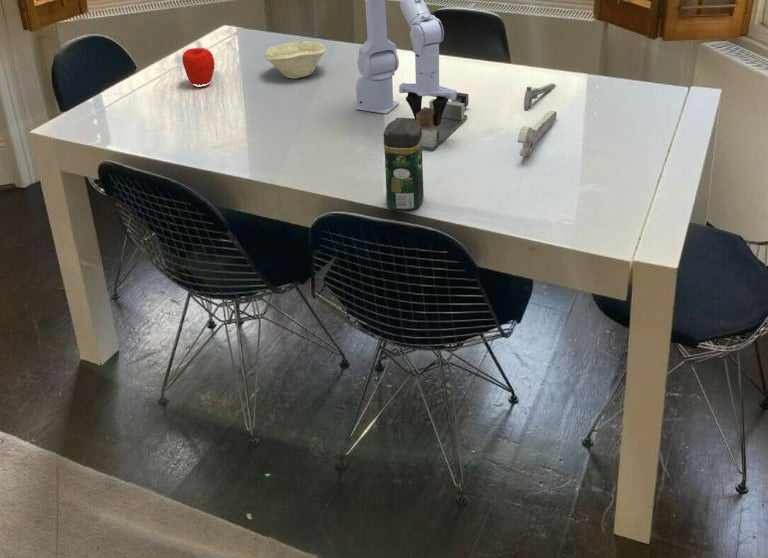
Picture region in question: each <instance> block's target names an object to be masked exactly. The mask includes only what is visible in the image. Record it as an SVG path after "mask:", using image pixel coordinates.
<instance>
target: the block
mask: <svg viewBox="0 0 768 558" xmlns="http://www.w3.org/2000/svg"><path fill="white" fill-rule="evenodd" d="M416 120H417V121H418V122H419V123H420V124H421V127H426V128H433V129H437V133H438V132H439V125H438V126H435V124H434V108H429V107H426V106H424V107H423V108H421V110H420V111H419V112H418V113H417V114H416Z"/></svg>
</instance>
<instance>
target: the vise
mask: <svg viewBox="0 0 768 558" xmlns="http://www.w3.org/2000/svg"><path fill="white" fill-rule="evenodd" d="M467 120H468V115H467V114H464V118H463V119H462V120H455V119H449V118H441V123H440V124H439V132H438V133H437V129H433V128H426V127H422V151H423V150H424V151H429V152H434V151H435V150H436V149H437V148H438V147H439V146H441V145H442V144H443V143H444V142H445V141H446V140H447V139H448V138H449V137H450V136H451V135H452V134H453V133H455V131H456V130H457V129H458V128H459V127H461V126H462V125H463V123H465V122H466V121H467Z"/></svg>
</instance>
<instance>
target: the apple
mask: <svg viewBox="0 0 768 558" xmlns="http://www.w3.org/2000/svg"><path fill="white" fill-rule="evenodd" d="M181 60H182V64H183V67H184V71H185V74H186V76H187V79H188V81H189V82H190V84H191V83H192V84H197V85H199V84H200V85H202V84H207V83H209V82H210V81H211V82H212V79H213V76H214V72H215V65H216V64H215V58H214V55H213V53H212V52H211V51H210V50H208V49H207V48H204V47H203V48H201V47H193V48H189V49H187V50H185V51H184V52H183V54H182V59H181ZM211 82H210V83H211ZM192 84H191V85H192Z"/></svg>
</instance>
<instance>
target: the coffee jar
mask: <svg viewBox="0 0 768 558" xmlns="http://www.w3.org/2000/svg"><path fill="white" fill-rule="evenodd" d="M383 150H384V152H383V153H384V169H385V191H386V192H385V193H386V197H385V199H386V205H387V206H388V208H390V209H392V210H393V209H394V210H396V211H402V212H403V211H409V210H410V211H411V210H417V208H419V207H420V205H422V202H423V199H424V194H425V193H424V174H423V173H424V171H423V167H424V166H423V149H422V127H421V124H420V123H419V122H418V121H417V120H415V118H414V117H396V118H395V119H393V120H391V121H390V122H389V123H388V124H387V125H386V127H385V129H384V131H383Z"/></svg>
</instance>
